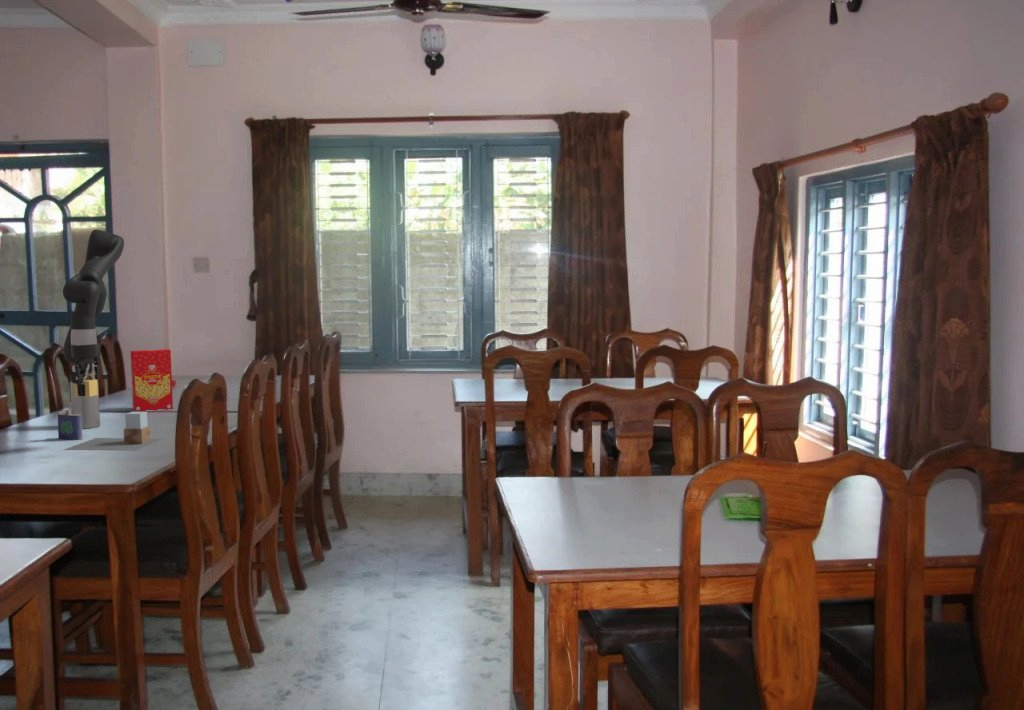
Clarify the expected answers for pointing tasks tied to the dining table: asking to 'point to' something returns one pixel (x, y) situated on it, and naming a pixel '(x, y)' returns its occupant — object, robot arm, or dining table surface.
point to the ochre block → (88, 388)
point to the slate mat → (111, 444)
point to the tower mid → (136, 420)
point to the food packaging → (151, 379)
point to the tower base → (137, 435)
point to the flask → (69, 426)
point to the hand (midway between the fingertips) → (86, 394)
